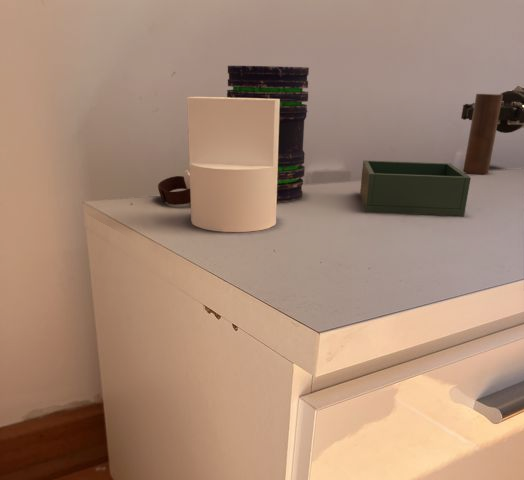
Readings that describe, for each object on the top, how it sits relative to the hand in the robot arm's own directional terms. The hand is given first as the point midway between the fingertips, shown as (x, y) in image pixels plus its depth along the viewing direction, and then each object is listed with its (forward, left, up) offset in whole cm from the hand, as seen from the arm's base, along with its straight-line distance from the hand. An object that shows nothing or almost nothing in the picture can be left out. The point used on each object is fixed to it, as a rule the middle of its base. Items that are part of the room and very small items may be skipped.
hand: (496, 115), depth 100 cm
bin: (+19, +38, -8) cm, 44 cm away
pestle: (+4, +9, -8) cm, 13 cm away
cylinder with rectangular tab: (+39, +51, -9) cm, 65 cm away
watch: (+47, +42, -9) cm, 64 cm away
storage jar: (+37, +36, -9) cm, 53 cm away
